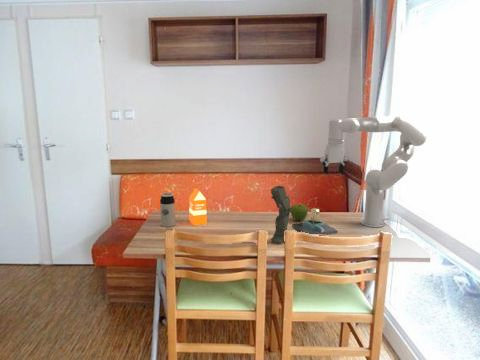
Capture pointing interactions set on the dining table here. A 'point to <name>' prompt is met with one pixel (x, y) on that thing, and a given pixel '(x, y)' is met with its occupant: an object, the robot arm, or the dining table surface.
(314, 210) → the coupler
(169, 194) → the travel mug
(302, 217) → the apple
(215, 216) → the dining table surface
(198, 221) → the orange juice
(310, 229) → the shaft mount
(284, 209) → the mechanical leg
